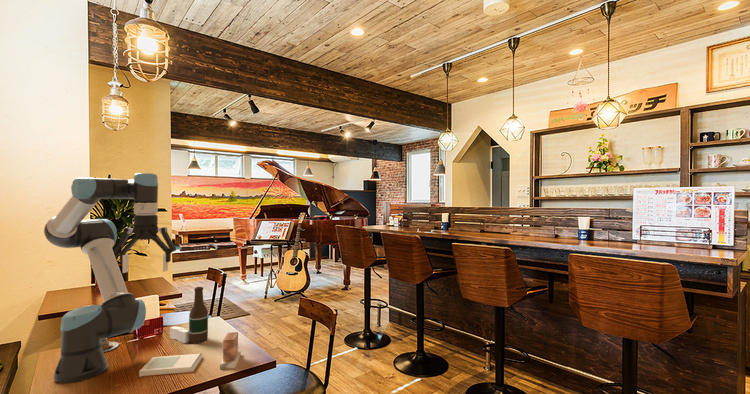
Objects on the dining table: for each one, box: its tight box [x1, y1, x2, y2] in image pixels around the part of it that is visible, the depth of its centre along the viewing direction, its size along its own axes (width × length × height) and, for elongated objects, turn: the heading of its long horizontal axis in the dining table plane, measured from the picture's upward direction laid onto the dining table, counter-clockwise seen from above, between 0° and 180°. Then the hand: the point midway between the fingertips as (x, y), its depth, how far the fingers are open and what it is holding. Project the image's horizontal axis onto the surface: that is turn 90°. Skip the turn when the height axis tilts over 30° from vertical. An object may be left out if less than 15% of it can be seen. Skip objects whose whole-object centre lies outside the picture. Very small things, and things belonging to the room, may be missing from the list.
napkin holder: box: [169, 325, 190, 344], centre depth 165 cm, size 15×11×6 cm
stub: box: [219, 331, 242, 370], centre depth 143 cm, size 5×12×10 cm, turn 11°
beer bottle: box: [188, 286, 209, 345], centre depth 165 cm, size 8×8×24 cm
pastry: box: [101, 338, 120, 354], centre depth 156 cm, size 12×12×5 cm
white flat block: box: [138, 352, 203, 378], centre depth 139 cm, size 18×12×2 cm, turn 101°
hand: (145, 271), depth 136 cm, fingers open, 13 cm apart
